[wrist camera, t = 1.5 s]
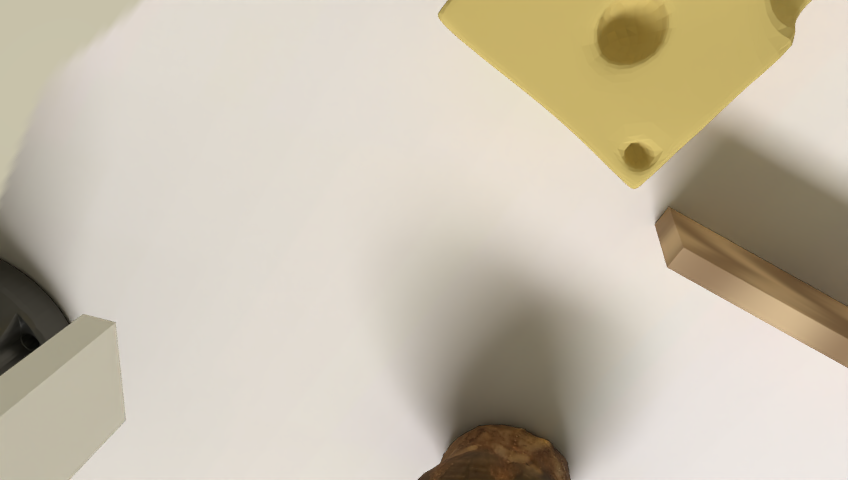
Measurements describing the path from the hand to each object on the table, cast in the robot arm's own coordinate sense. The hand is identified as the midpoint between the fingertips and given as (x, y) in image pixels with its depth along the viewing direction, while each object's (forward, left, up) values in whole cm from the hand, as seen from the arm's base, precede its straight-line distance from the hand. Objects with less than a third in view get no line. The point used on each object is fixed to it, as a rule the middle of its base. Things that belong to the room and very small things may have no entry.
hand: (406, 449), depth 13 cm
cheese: (+1, +9, -23) cm, 25 cm away
